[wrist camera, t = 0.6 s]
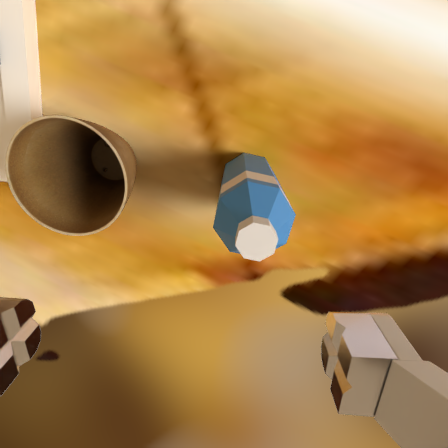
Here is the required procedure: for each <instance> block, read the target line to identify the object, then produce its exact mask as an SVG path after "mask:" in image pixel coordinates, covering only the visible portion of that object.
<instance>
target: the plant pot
mask: <svg viewBox="0 0 448 448" xmlns="http://www.w3.org/2000/svg"><path fill="white" fill-rule="evenodd" d="M105 144H107V146H106V145H105ZM105 169H107V170H106V171H105ZM5 171H6V177H7V181H8V184H9V187H10V189H11V192H12V194H13V196H14V197H15V199H16V201H17V202H18V204H19V205H20V206H21V208H22V209H23V210H24V211H25V212H26V213H27V214H28V215H29V216H30V217H31V218H32V219H34V220H35V221H36V222H38V223H39V224H41V225H42V226H44V227H46V228H48V229H50V230H53V231H55V232H58V233H61V234H65V235H72V236H83V235H90V234H94V233H97V232H99V231H102V230H104V229H105V228H107V227H108V226H110V225H111V224H112V223H113V222H114V221H115V220H116V219H117V218H118V216H119V215H120V213H121V212H122V210H123V208H124V206H125V204H126V203H127V200H128V198H129V196H130V194H131V191H132V189H133V186H134V182H135V178H136V158H135V155H134V152H133V150H132V148H131V147H130V145H129V144H128V143H127V142H126V141H125V140H124V139H123V138H122V137H120V136H119V135H118V134H116V133H114V132H113V131H111V130H109V129H107V128H105V127H103V126H100V125H98V124H95V123H92V122H89V121H85V120H81V119H76V118H72V117H67V116H61V115H48V116H42V117H38V118H35V119H33V120H31V121H29V122H27V123H26V124H24V125H23V126H22V127H20V128H19V129H18V130H17V131H16V133H15V134H14V135H13V137H12V138H11V140H10V143H9V145H8V148H7V152H6V157H5Z"/></svg>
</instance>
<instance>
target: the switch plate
mask: <svg viewBox="0 0 448 448" xmlns="http://www.w3.org/2000/svg"><path fill="white" fill-rule="evenodd" d="M0 62H1V65H0V181H4V182H8V181H7V177H6V171H5V157H6V152H7V148H8V145H9V143H10V140H11V138H12V137H13V135H14V134H15V133H16V131H17V130H18V129H19V128H20V127H22V126H23V125H24V124H26V123H27V122H29V121H31V120H33V119H35V118H38V117H42V116H43V114H42V99H41V83H40V68H39V52H38V37H37V21H36V6H35V0H0Z"/></svg>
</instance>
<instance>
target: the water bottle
mask: <svg viewBox="0 0 448 448" xmlns="http://www.w3.org/2000/svg"><path fill="white" fill-rule="evenodd" d="M294 218H295V213H294V211H293V209H292V207H291V205H290V203H289V201H288V199H287V197H286V195H285V193H284V192H283V190H282V188H281V186H280V184H279V182H278V180H277V178H276V176H275V174H274V172H273V171H272V169H271V167H270V166H269V164H268V162H267V161H266V159H265V157H261V156H256V155H252V154H247V153H242V154H241V155H239V156H238V157H236V158H235V159H233V160H231V161H230V162H228V163H227V164H226V165H225V170H224V174H223V179H222V184H221V189H220V194H219V199H218V204H217V210H216V215H215V220H214V225H213V228H214V230H215V231H216V232H217V234H218V235H219V237H220V238H221V240H222V241H223V242H224V244H225V245H226V247H227V248H228V249H229V251H230V252H235V253H240V254H241V255H242V256H243V258H246V259H251V260H255V261H261V260H263V259H265V258H267V257H269V256H271V255H273V254H274V252H275V249H276V248H278V247H280V246H282V245H284V244H286V243H287V239H288V236H289V233H290V230H291V227H292V224H293V221H294Z"/></svg>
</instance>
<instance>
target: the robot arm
mask: <svg viewBox="0 0 448 448" xmlns="http://www.w3.org/2000/svg"><path fill="white" fill-rule="evenodd" d="M35 312H36V311H35V308H34V305H33V302H32V301H30V300H28V299H18V298H3V297H0V396H1V395H2V394H3V393H4V392H5V390H6V389H7V388H8V387H9V385H10V384H11V383H12V382H13V380H14V379H15V378H16V377H17V375H18V374H19V366H20V365H22V364H24V363H25V362H27V361H29V360H30V359H31V358H32V356H33V355H34V354H35V352H36V351H37V348H38V346H39V343H40V341H41V330H40V326H39V324H38V323H37V322H36V321H35V320H34V319H33V318H32V317H33V315H34V313H35ZM325 325H326V327H327V330H328V333H327V334H325V335H324V336H323V338H322V345H321V357H322V363H323V367H324V371H325V374H326V375H327V376H328V377H330V378H331V379H332V383H331V388H330V389H331V393H332V396H333V399H334V402H335V405H336V408H337V411H338V414H346V415H359V416H371V417H375V418H374V419H375V420H376V421H377V422H378V423H379V424H380V425H381V427H382V428H383V429H384V430H385V431H386V432H387V433H388V434H389V435H390V436H391V437H392V438H393V439H394V440H395V442H396V443H397V444H398V445H399V446H400V447H401V448H448V373H447V372H445V371H443V370H442V369H440V368H439V367H437V366H435V365H434V364H433V363H431V362H430V361H422V359H421V358H420V357H419V355H418V354H417V352H416V351H415V349H414V348H413V347H412V345H411V344H410V342H409V341H408V340H407V338H406V337H405V335H404V334H403V332H402V331H401V330H400V328H399V327H398V326H397V324H396V323H395V321H394V320H393V318H392V317H391V316H390V315H389V314H387V313H345V312H329V313H328V315H327V317H326V322H325Z"/></svg>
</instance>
